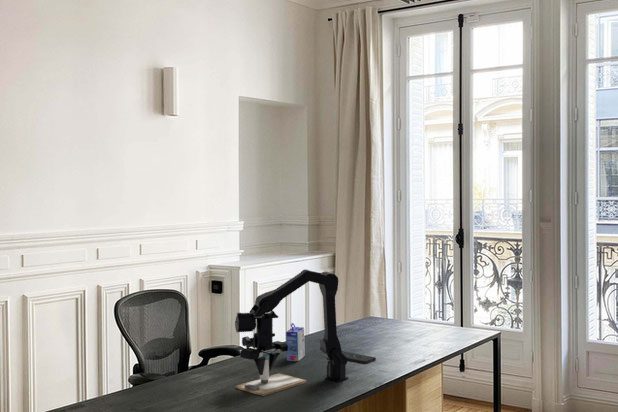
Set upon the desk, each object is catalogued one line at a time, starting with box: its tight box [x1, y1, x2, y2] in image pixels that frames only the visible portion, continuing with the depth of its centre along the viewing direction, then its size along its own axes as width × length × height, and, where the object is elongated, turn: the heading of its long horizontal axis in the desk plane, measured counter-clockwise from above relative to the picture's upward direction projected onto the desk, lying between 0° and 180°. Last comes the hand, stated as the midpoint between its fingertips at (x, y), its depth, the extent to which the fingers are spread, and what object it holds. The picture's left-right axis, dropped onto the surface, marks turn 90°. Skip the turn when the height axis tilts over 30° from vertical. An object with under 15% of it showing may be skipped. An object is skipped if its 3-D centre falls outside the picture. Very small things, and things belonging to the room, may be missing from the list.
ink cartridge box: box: [285, 322, 306, 362], centre depth 287 cm, size 10×6×14 cm, turn 164°
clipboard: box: [235, 373, 307, 397], centre depth 248 cm, size 14×22×2 cm, turn 138°
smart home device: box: [342, 350, 377, 365], centre depth 288 cm, size 8×2×20 cm
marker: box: [259, 353, 270, 383], centre depth 248 cm, size 3×3×10 cm
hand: (264, 373), depth 248 cm, fingers closed on marker, 3 cm apart
